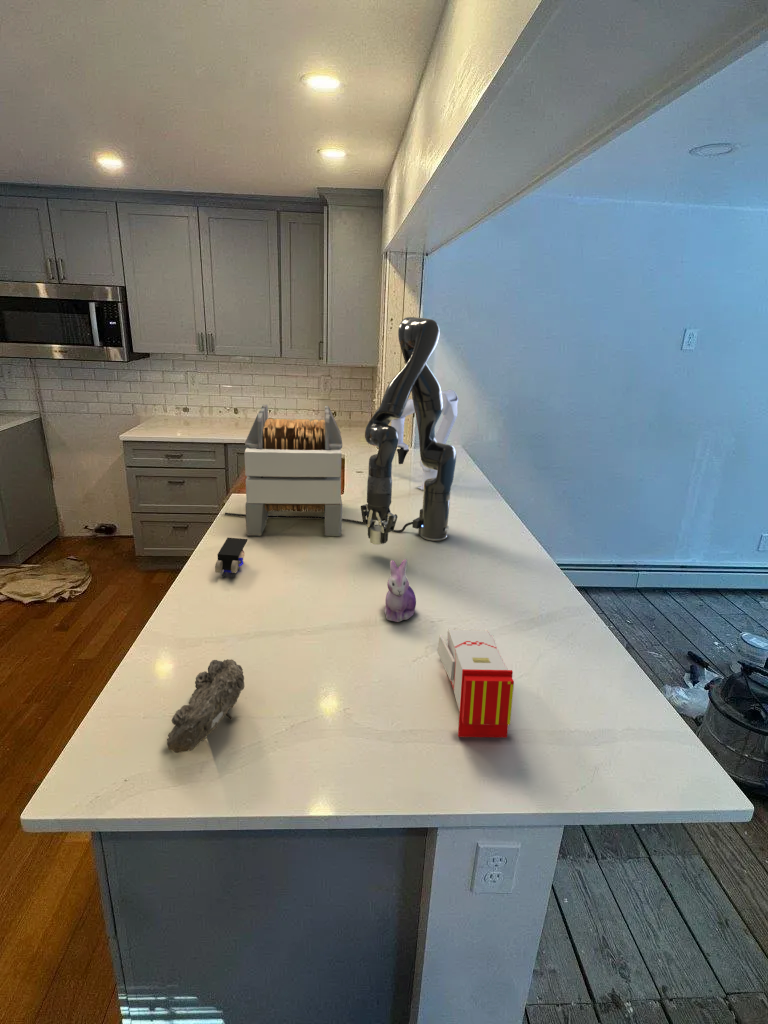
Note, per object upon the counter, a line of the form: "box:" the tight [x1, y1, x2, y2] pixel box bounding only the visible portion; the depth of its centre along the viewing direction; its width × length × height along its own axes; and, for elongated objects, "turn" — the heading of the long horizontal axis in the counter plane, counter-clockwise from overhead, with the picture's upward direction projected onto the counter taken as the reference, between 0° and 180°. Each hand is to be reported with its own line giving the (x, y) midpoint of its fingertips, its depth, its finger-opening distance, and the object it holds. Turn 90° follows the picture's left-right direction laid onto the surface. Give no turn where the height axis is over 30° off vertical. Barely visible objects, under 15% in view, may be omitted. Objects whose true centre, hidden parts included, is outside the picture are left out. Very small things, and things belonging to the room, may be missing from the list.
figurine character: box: [214, 537, 248, 578], centre depth 166 cm, size 7×8×15 cm
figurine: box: [384, 558, 417, 623], centre depth 145 cm, size 9×10×15 cm
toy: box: [437, 628, 515, 738], centre depth 117 cm, size 12×13×30 cm
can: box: [369, 526, 385, 546], centre depth 178 cm, size 5×5×4 cm
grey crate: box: [244, 404, 343, 537], centre depth 202 cm, size 34×33×41 cm
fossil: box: [166, 658, 245, 754], centre depth 106 cm, size 22×10×15 cm
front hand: (377, 540), depth 178 cm, fingers closed on can, 4 cm apart
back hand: (395, 461), depth 259 cm, fingers open, 7 cm apart
